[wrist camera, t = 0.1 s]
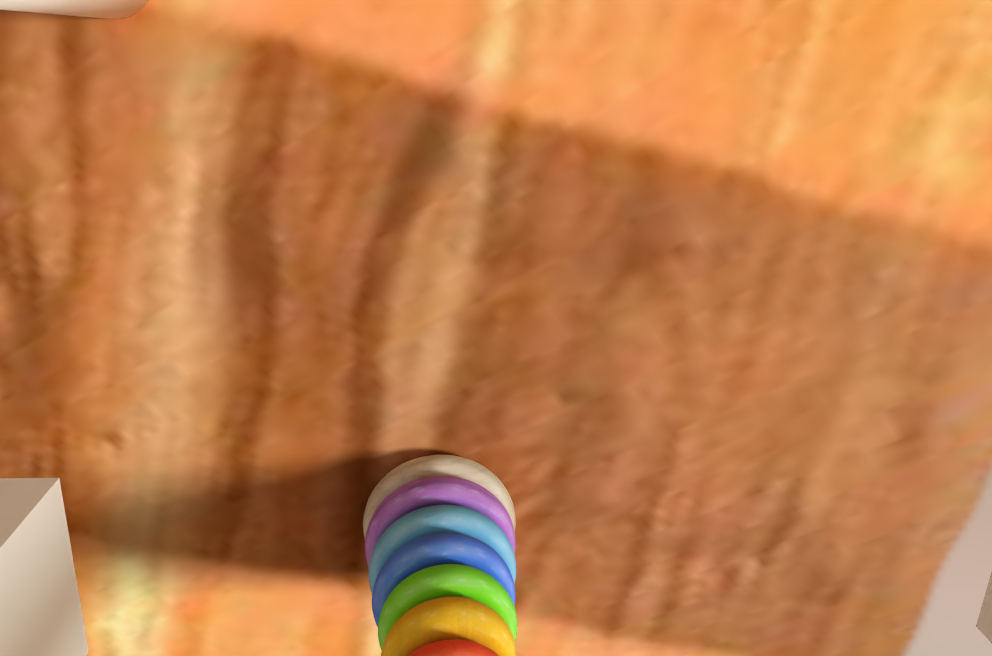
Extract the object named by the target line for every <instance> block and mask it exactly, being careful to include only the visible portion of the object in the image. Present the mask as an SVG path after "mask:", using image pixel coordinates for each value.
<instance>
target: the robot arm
mask: <svg viewBox="0 0 992 656" xmlns="http://www.w3.org/2000/svg"><path fill="white" fill-rule="evenodd" d="M976 627H977V628H978V629H979V630H980V631H981V632H982V633H983V634H984V635H985V636H986V637H987V638H988V639H989V641H990V642H991V643H992V573H991V576H990V580H989V583H988V587H987V590H986V594H985V597H984V600H983V604H982V607H981V611H980V615H979V618H978V621H977V625H976ZM88 651H89V650H88V644H87V638H86V632H85V627H84V621H83V615H82V609H81V603H80V597H79V591H78V585H77V580H76V574H75V568H74V562H73V556H72V550H71V544H70V538H69V532H68V527H67V521H66V515H65V509H64V503H63V497H62V491H61V485H60V480H59V478H0V656H86V655H87V653H88Z"/></svg>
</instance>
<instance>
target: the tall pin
mask: <svg viewBox="0 0 992 656" xmlns="http://www.w3.org/2000/svg"><path fill="white" fill-rule="evenodd" d="M147 1H148V0H0V10H11V11H23V12H35V13H47V14H58V15H70V16H82V17H93V18H105V19H123V18H127V17H130V16H132V15H134V14H136V13H137V12H139V11H140V10H141V9H142V8H143V7H144V6H145V4H146V3H147Z"/></svg>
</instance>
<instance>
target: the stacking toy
mask: <svg viewBox="0 0 992 656" xmlns="http://www.w3.org/2000/svg"><path fill="white" fill-rule="evenodd" d="M363 532H364V538H365V555H366V561H367V564H368V568H369V583H370V588H371V592H372V610H373V614H374V618H375V621H376V624H377V626H378V638H379V643H380V647H381V650H382V653H381V656H516V647H515V638H516V634H517V616H516V611H515V607H514V605H515V585H514V584H515V579H516V560H515V555H514V554H515V545H516V544H515V511H514V506H513V503H512V500H511V497H510V495H509V493H508V491H507V490H506V488H505V486H504V485H503V484H502V482H501V481H500V480H499V479H498V478H497V477H496V476H495V475H494V474H493V473H492V472H491V471H489V470H488V469H487V468H485V467H484V466H482V465H481V464H479V463H477V462H475V461H472V460H470V459H467V458H464V457H460V456H455V455H430V456H423V457H419V458H416V459H412V460H410V461H407V462H405V463H403V464H401V465H399V466H397V467H396V468H394V469H393V470H391V471H390V472H389V473H388V474H386V475H385V476H384V477H383V478H382V479H381V481H380V482H379V483H378V484H377V485H376V487H375V488H374V490H373V491H372V493H371V495H370V497H369V499H368V502H367V505H366V508H365V512H364V518H363Z"/></svg>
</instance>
